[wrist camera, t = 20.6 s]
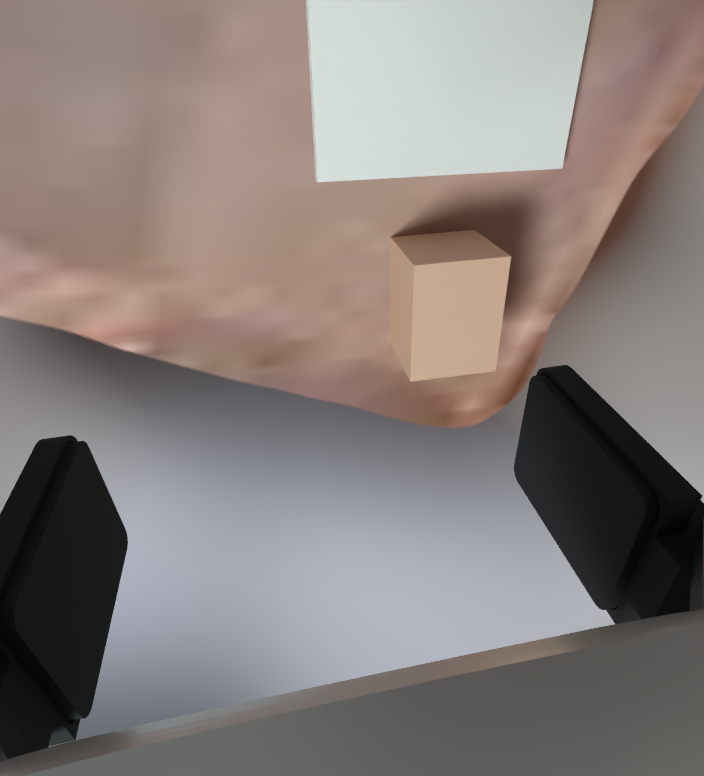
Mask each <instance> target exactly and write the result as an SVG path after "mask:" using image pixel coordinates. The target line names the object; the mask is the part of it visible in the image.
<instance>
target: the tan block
mask: <svg viewBox="0 0 704 776" xmlns="http://www.w3.org/2000/svg"><path fill="white" fill-rule="evenodd" d="M510 262H511V256H510V255H509V254H507V253H506V252H505V251H503V250H502V249H500V248H499V247H498V246H496V245H495V244H494V243H492V242H491V241H489V240H488V239H487V238H485V237H484V236H483V235H481V234H480V233H478V232H477V231H476V230H466V231H454V232H443V233H431V234H420V235H408V236H397V237H390V343H391V345H392V347H393V349H394V351H395V353H396V355H397V357H398V359H399V361H400V363H401V364H402V366H403V368H404V370H405V372H406V374H407V376H408V378H409V380H410V382H412V381H420V380H428V379H436V378H444V377H452V376H460V375H468V374H476V373H484V372H492V371H496V364H497V357H498V349H499V342H500V335H501V327H502V320H503V313H504V306H505V298H506V291H507V284H508V277H509V269H510Z"/></svg>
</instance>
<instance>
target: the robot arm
mask: <svg viewBox="0 0 704 776" xmlns="http://www.w3.org/2000/svg"><path fill="white" fill-rule="evenodd" d="M514 472H515V476H516V479H517V481H518V483H519V485H520V486H521V488H522V489H523V491H524V492H525V494H526V495H527V497H528V499H529V500H530V502H531V504H532V505H533V507H534V508H535V510H536V511H537V513H538V515H539V516H540V518H541V519H542V521H543V522H544V524H545V526H546V527H547V529H548V530H549V532H550V533H551V535H552V537H553V538H554V540H555V541H556V543H557V545H559V548H560V549H561V551H562V552H563V554H564V556H565V557H566V559H567V560H568V562H569V563H570V565H571V567H572V568H573V570H574V571H575V573H576V574H577V576H578V578H579V579H580V581H581V582H582V584H583V585H584V587H585V589H586V590H587V592H588V593H589V595H590V596H591V598H592V600H593V601H594V602H595V604H596V605H597V606H598V607H599V608H600V609H602V610H607V612H608V613H609V615H610V616H611V618H612V619H613V621H614V623H615V625H610V626H604V627H599V628H594V629H589V630H584V631H580V632H575V633H570V634H565V635H560V636H556V637H551V638H546V639H541V640H536V641H531V642H526V643H522V644H517V645H512V646H507V647H503V648H497V649H493V650H488V651H483V652H478V653H473V654H468V655H464V656H459V657H454V658H450V659H445V660H440V661H435V662H431V663H426V664H421V665H417V666H412V667H407V668H402V669H398V670H393V671H388V672H383V673H379V674H374V675H369V676H365V677H360V678H356V679H351V680H346V681H341V682H337V683H332V684H327V685H323V686H318V687H313V688H309V689H304V690H299V691H295V692H290V693H285V694H281V695H276V696H272V697H267V698H262V699H258V700H253V701H249V702H244V703H240V704H235V705H230V706H226V707H221V708H217V709H212V710H207V711H203V712H198V713H194V714H189V715H184V716H180V717H175V718H171V719H167V720H162V721H157V722H153V723H149V724H145V725H141V726H136V727H132V728H128V729H123V730H119V731H115V732H111V733H106V734H102V735H98V736H94V737H89V738H85V739H81V740H77V741H74V740H75V739H76V735H77V730H78V726H79V722H80V719H83V718H86V717H87V716H88V715H89V713H90V711H91V708H92V704H93V699H94V695H95V690H96V686H97V682H98V677H99V673H100V668H101V664H102V659H103V654H104V650H105V646H106V641H107V637H108V632H109V628H110V623H111V619H112V614H113V610H114V605H115V601H116V596H117V592H118V587H119V582H120V578H121V573H122V569H123V565H124V560H125V555H126V551H127V544H128V541H127V533H126V530H125V527H124V525H123V523H122V521H121V518H120V516H119V514H118V512H117V509H116V507H115V505H114V503H113V500H112V498H111V496H110V494H109V492H108V489H107V487H106V485H105V482H104V480H103V478H102V476H101V474H100V472H99V469H98V467H97V465H96V462H95V460H94V458H93V456H92V453H91V451H90V449H89V447H88V445H87V443H86V442H84V441H79V442H78V441H77V439H76V438H75V437H73V436H63V437H56V438H49V439H42V440H39V441H38V442H37V444H36V445H35V447H34V449H33V451H32V453H31V455H30V457H29V459H28V461H27V463H26V465H25V467H24V469H23V471H22V473H21V475H20V476H19V478H18V480H17V482H16V484H15V486H14V488H13V490H12V492H11V494H10V496H9V498H8V500H7V502H6V504H5V506H4V508H3V510H2V512H1V514H0V776H704V503H702V501H701V500H700V499H701V497H702V495H701V494H700V493H699V492H698V491H697V490H696V489H695V488H694V487H692V485H690V483H689V482H688V481H687V480H685V478H684V477H682V476H681V475H680V474H679V473H678V472H677V471H676V470H675V469H674V468H673V467H672V466H671V465H670V464H669V463H668V462H667V461H666V460H665V459H664V458H663V457H662V456H661V455H660V454H659V453H658V452H657V451H656V450H655V449H654V448H653V447H652V446H651V445H650V444H649V443H647V441H646V440H645V439H644V438H643V437H641V436H640V435H639V434H638V433H637V432H636V431H635V430H634V429H633V428H632V427H631V426H630V425H629V424H628V423H627V422H626V421H625V420H624V419H623V418H622V417H621V416H620V415H619V414H618V413H617V412H616V411H615V410H614V409H613V408H612V407H611V406H610V405H609V404H608V403H607V402H606V401H605V400H604V399H602V397H601V396H600V395H599V394H598V393H597V392H596V391H594V390H593V389H592V388H591V387H590V386H589V385H588V384H587V383H586V382H585V381H584V380H583V379H582V378H581V377H580V376H579V375H578V374H577V373H576V372H575V371H574V370H573V369H572V368H571V367H569V366H568V365H562V366H554V367H547V368H542V369H540V370H539V371H538V372H537V375H536V376H533V377H532V378H531V379H530V383H529V388H528V393H527V399H526V404H525V410H524V415H523V420H522V426H521V431H520V437H519V442H518V447H517V453H516V459H515V464H514ZM641 619H642V620H641ZM69 741H72V742H69ZM64 742H68V743H64ZM59 743H64V744H59ZM54 744H59V745H56V746H52V747H49V748H48V746H50V745H54Z"/></svg>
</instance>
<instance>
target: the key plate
mask: <svg viewBox="0 0 704 776" xmlns="http://www.w3.org/2000/svg"><path fill="white" fill-rule="evenodd" d="M593 2H594V0H306V13H307V31H308V49H309V67H310V85H311V103H312V121H313V140H314V158H315V176H316V180H317V182H329V181H347V180H365V179H383V178H401V177H419V176H437V175H454V174H472V173H490V172H508V171H526V170H544V169H562V167H563V161H564V156H565V151H566V145H567V140H568V135H569V129H570V124H571V119H572V113H573V108H574V103H575V97H576V92H577V87H578V82H579V76H580V71H581V66H582V60H583V55H584V50H585V44H586V39H587V34H588V28H589V23H590V18H591V12H592V7H593Z"/></svg>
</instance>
